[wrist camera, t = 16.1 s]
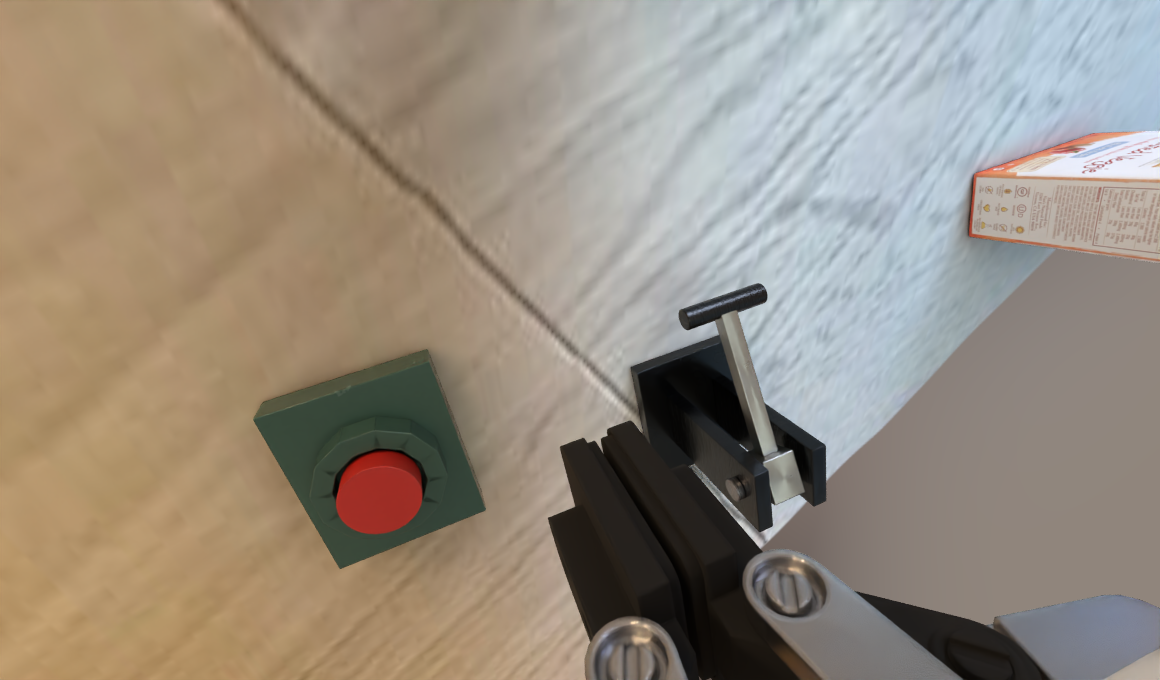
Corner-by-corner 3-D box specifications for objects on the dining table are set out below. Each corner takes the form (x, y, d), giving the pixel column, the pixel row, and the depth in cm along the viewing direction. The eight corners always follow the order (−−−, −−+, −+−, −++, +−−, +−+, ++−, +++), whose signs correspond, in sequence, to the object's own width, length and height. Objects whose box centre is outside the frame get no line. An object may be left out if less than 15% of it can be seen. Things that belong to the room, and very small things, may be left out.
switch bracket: (630, 367, 37) (719, 450, 27) (733, 329, 39) (854, 393, 29) (650, 471, 41) (734, 578, 31) (742, 432, 43) (852, 521, 33)
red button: (326, 467, 29) (322, 485, 27) (406, 439, 30) (406, 454, 28) (357, 526, 30) (355, 546, 29) (431, 497, 31) (433, 515, 30)
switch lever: (672, 310, 31) (689, 308, 29) (747, 284, 32) (769, 280, 30) (731, 503, 32) (752, 516, 30) (802, 471, 33) (827, 481, 31)
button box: (262, 402, 30) (243, 435, 26) (427, 348, 32) (430, 373, 28) (343, 546, 35) (336, 591, 31) (481, 491, 37) (490, 527, 33)
